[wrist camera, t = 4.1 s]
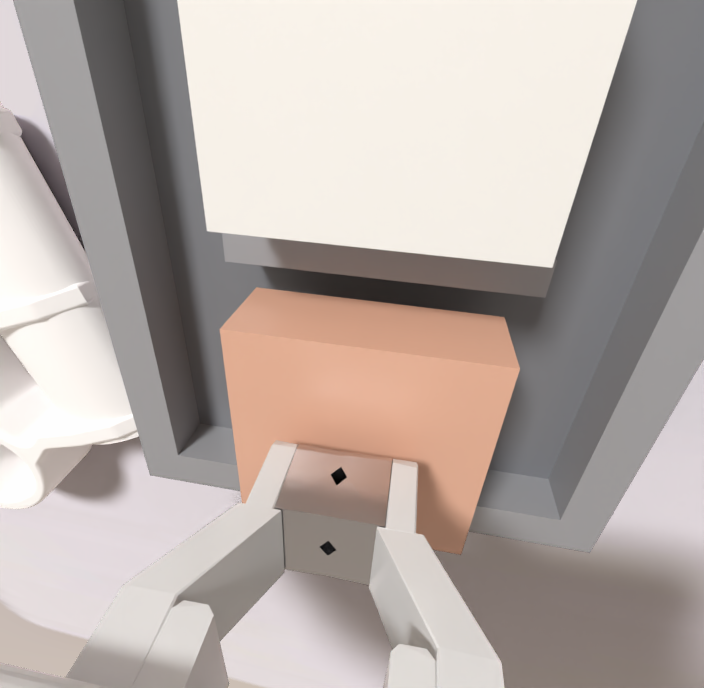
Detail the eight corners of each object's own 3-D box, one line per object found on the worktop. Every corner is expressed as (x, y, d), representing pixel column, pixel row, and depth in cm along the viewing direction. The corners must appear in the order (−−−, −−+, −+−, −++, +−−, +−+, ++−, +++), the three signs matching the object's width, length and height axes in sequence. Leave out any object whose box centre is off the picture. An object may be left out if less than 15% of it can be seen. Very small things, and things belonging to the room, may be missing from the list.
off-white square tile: (649, -218, 5) (751, -361, 4) (527, 230, 8) (551, 267, 7) (220, -210, 6) (135, -327, 4) (250, 203, 9) (207, 231, 7)
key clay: (504, 316, 9) (520, 368, 8) (457, 489, 12) (461, 554, 10) (256, 287, 10) (219, 328, 8) (268, 458, 13) (244, 515, 11)
